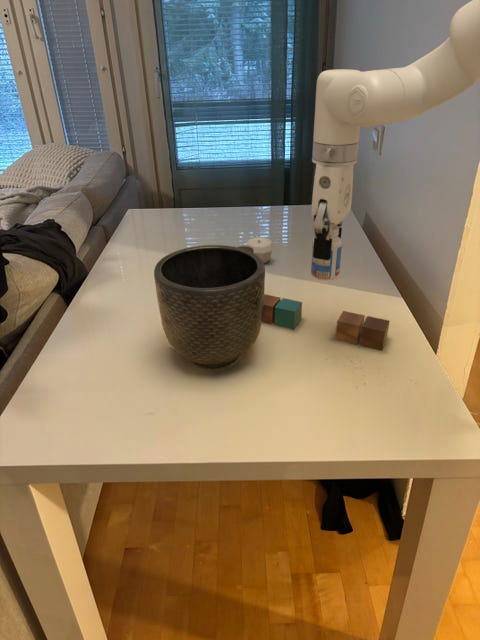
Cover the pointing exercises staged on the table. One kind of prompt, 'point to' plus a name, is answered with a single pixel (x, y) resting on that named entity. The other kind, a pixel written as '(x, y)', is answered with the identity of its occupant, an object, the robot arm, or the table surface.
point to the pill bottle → (328, 267)
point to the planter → (211, 302)
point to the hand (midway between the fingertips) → (326, 251)
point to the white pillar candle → (261, 247)
